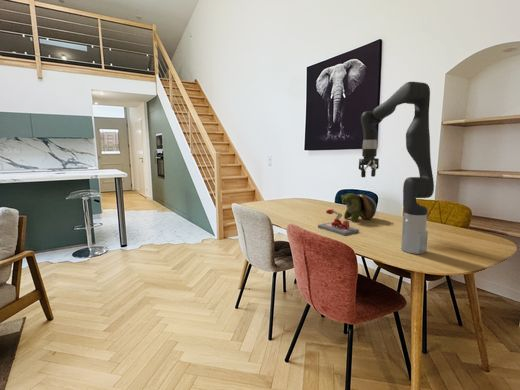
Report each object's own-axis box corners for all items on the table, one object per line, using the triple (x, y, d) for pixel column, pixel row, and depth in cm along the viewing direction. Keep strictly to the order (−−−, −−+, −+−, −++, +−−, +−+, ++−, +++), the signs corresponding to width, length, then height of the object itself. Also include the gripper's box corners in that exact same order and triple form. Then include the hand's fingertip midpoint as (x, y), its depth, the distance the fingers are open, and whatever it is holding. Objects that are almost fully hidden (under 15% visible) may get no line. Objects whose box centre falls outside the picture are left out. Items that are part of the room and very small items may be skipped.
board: (358, 232, 158) (358, 229, 157) (343, 235, 151) (343, 232, 151) (332, 224, 174) (332, 222, 174) (317, 227, 168) (317, 224, 168)
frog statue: (374, 228, 183) (343, 220, 174) (359, 221, 197) (330, 214, 189) (384, 200, 181) (353, 191, 172) (368, 196, 195) (338, 187, 187)
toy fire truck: (347, 229, 157) (347, 212, 155) (325, 225, 166) (326, 209, 165) (350, 228, 159) (350, 211, 157) (328, 224, 169) (329, 208, 167)
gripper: (366, 148, 151) (365, 178, 154) (383, 148, 159) (382, 176, 161) (355, 148, 158) (354, 177, 160) (372, 148, 165) (370, 175, 168)
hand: (368, 176), depth 161 cm, fingers open, 8 cm apart
